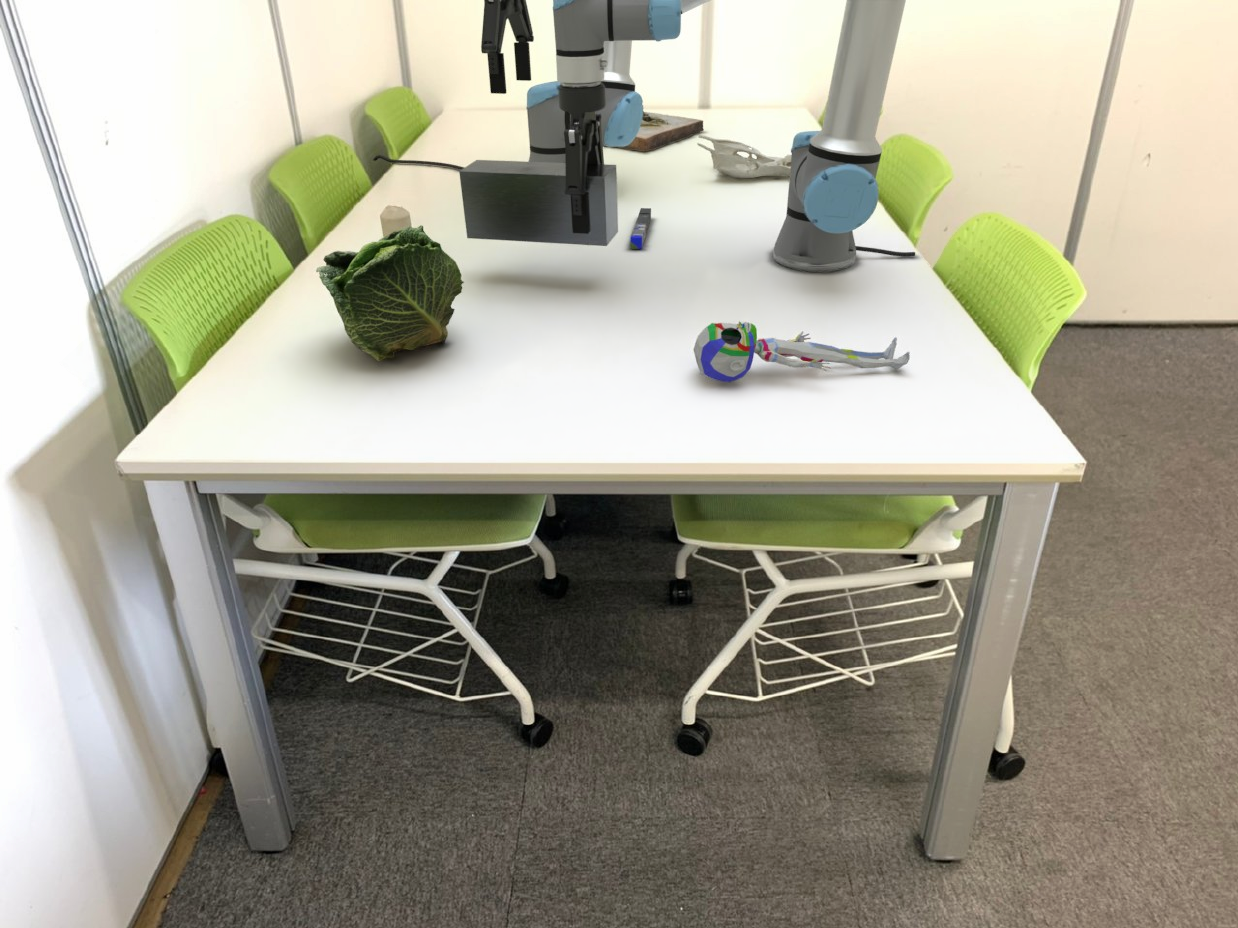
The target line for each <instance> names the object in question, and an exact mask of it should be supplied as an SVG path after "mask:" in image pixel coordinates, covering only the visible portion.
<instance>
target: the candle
mask: <svg viewBox="0 0 1238 928" xmlns="http://www.w3.org/2000/svg"><path fill="white" fill-rule="evenodd" d="M379 220H380V225H381V231H382V238H383V237H385V236H387V235H389V234H391V233H393V232H395V231H400V230H404V229H405V228H407V227H410V226H412V217H411V213H410V212H409V210H407V209H405V208H404V207H403V206H397V205H387V206H385V207H384V209H383V210H382V211H381V213H380V214H379Z"/></svg>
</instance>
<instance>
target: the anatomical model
mask: <svg viewBox="0 0 1238 928" xmlns="http://www.w3.org/2000/svg"><path fill="white" fill-rule="evenodd" d="M698 138H699V139H704V140H707V141H709V142H711V143H712V145H713V146H712V147H713V149H712V148H710V147H708V146H706V145H705V144H702V143H700V142H697V143H696V144H697V146H698V147H700V148H702V149H704V150H706V151H709V152H710V154H711V155H710V156H711V159H712V169H713V170H717V171H718V173H719V174H721V175H726V176H727V175H728V176H729V177H731V178H734V179H754V178H758V177H765V176H780V177H781V176H782V177H790V169H791V157H792V154H787V155H786V156H784V157H779V156H778V157H777V156H768V155H765V154H762V153H761V151H760V150H758V149H757V148H756V147H754V146H751V145H748V144H745V143H743V142H740V141H735V140H731V139H722V138H714V137H711V136H706V135H702V134H699V135H698ZM739 153H745V154H748V156H747V157H745V156H742V155H740V154H739ZM753 155H754V156H755V157H756V158H754V157H753Z"/></svg>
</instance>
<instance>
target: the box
mask: <svg viewBox="0 0 1238 928" xmlns="http://www.w3.org/2000/svg"><path fill="white" fill-rule="evenodd" d="M458 173H459V181H460V188H461V197H462V206H463V214H464V223H465V231H466V232H465V233H466V239H473V240H474V239H475V240H491V241H508V242H510V241H512V242H524V243H525V242H527V243H541V244H542V243H544V244H561V245H562V244H563V245H578V246H597V247H607V246H608V245H610V243H611V242H612V241H613V239H614V238H615V237H616V235H617V234H618V232H619V216H618V215H619V214H618V213H619V211H618V210H619V209H618V181H617V179H618V176H617V175H618V173H617V164H605V163H604V164H598V165H597V164H587V173H586V189H585V190H586V192H585V194H588V215H589V233H588V234H582V233H573V230H572V212H571V195H566V194H565V190H566V168H565V163H550V162H529V161H520V160H518V161H517V160H494V159H493V160H492V159H476V160H474V161H472V162H471V163H470V164H468V165H467V166H465V168H463V169H462V170H459V172H458Z"/></svg>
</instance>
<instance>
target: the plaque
mask: <svg viewBox="0 0 1238 928" xmlns="http://www.w3.org/2000/svg"><path fill="white" fill-rule="evenodd" d="M704 130H705V129H704V120H702V119H698V118H693V117H685V116H679V115H669V114H663V113H659V112H650V111H644V110H643V117H642V122H641V126H640V129H639V131H638V134H637V135H636V137H635V139H634V140H633V141H632V142H631V143H630V144H629V145H627V146H624V147H617V146H613V147H612V148H620V149H625V150H632V151H640V152H648V151H654V150H656V149H659V148H662V147H663V146H664V147H665V146H667V145H670V144H672V143H676V142H680V141H682V140H684V139H687V138H691V137H692V136H694V135H696V134H698V133H700V132H704Z"/></svg>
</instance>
